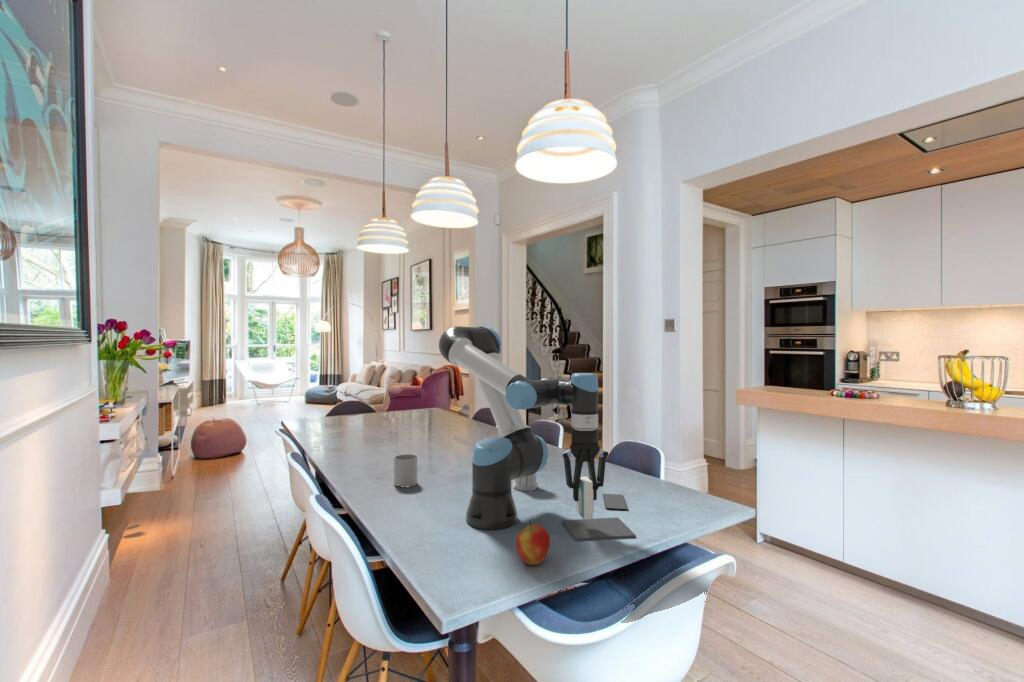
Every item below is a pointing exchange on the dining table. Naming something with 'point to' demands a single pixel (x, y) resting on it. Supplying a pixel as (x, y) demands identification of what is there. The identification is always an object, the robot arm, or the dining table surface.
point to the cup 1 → (405, 470)
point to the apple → (533, 544)
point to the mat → (598, 529)
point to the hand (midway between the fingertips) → (584, 511)
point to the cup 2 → (526, 483)
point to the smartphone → (615, 502)
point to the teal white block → (586, 497)
